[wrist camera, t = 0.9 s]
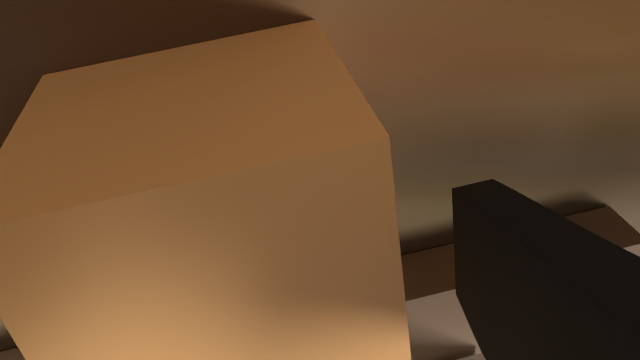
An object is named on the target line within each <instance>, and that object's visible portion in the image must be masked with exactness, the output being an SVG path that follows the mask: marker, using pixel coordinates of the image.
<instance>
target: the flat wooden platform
mask: <svg viewBox="0 0 640 360" xmlns="http://www.w3.org/2000/svg"><path fill="white" fill-rule="evenodd" d="M564 218H566V219H568V220H570V221H572V222H574V223H576V224H577V225H579V226H581V227H583V228H585V229H587V230H589V231H591V232H592V233H594V234H596V235H598V236H600V237H602V238H604V239H606V240H608V241H610V242H612V243H614V244H616V245H618V246H619V247H621V248H623V249H625V250H627V251H629V252H631V253H633V254H635V255H637V256H639V257H640V234H639V233H638V232H637V231H636V230H635V229H634V228H633V227H632V226H631V225H629V224H628V223H627V222H626V221H625V220H624V219H623V218H622V217H621V216H620V215H619V214H617V213H616V212H615V211H614V210H613V209H612V208H611V207H610V206H607V207H603V208H599V209H594V210H590V211H586V212H582V213H578V214H574V215H569V216H565V217H564ZM401 261H402V271H403V281H404V291H405V301H406V311H407V321H408V331H409V342H410V352H411V360H456V359H460V358H464V357H468V356H472V355H476V354H480V353H482V352H481V350H480V348H479V346H478V343H477V341H476V339H475V337H474V335H473V332H472V330H471V328H470V326H469V323H468V321H467V319H466V316H465V314H464V312H463V310H462V307H461V305H460V303H459V300H458V298H457V296H456V288H455V260H454V243H452V244H448V245H444V246H440V247H435V248H431V249H427V250H423V251H419V252H415V253H410V254H406V255H402V256H401ZM0 360H25V358H24V357H23V355H22V353H21V352H20V350H19V348H18V347H17V348H13V349H9V350H4V351H0Z"/></svg>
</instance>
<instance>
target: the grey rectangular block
mask: <svg viewBox="0 0 640 360" xmlns="http://www.w3.org/2000/svg"><path fill="white" fill-rule="evenodd" d="M456 360H486V359H485V357H484V356H483V354H482V353H480V354H476V355H472V356H468V357H464V358H460V359H456Z"/></svg>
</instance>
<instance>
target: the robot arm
mask: <svg viewBox="0 0 640 360" xmlns="http://www.w3.org/2000/svg"><path fill="white" fill-rule="evenodd" d="M452 202H453V231H454V260H455V288H456V296H457V298H458V300H459V303H460V305H461V307H462V310H463V312H464V314H465V316H466V319H467V321H468V323H469V326H470V328H471V330H472V332H473V335H474V337H475V339H476V341H477V343H478V346H479V348H480V350H481V352H482V354H483V356H484V357H485V359H486V360H640V257H639V256H637V255H635V254H633V253H631V252H629V251H627V250H625V249H623V248H621V247H619V246H618V245H616V244H614V243H612V242H610V241H608V240H606V239H604V238H602V237H600V236H598V235H596V234H594V233H592V232H591V231H589V230H587V229H585V228H583V227H581V226H579V225H577V224H576V223H574V222H572V221H570V220H568V219H566V218H564V217H563V216H561V215H559V214H557V213H555V212H553V211H552V210H550V209H548V208H546V207H544V206H542V205H541V204H539V203H537V202H535V201H533V200H532V199H530V198H528V197H526V196H524V195H522V194H520V193H519V192H517V191H515V190H513V189H511V188H509V187H507V186H505V185H503V184H501V183H499V182H497V181H495V180H493V179H491V180H486V181H482V182H478V183H473V184H469V185H465V186H461V187H456V188H452Z"/></svg>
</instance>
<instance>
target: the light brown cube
mask: <svg viewBox="0 0 640 360" xmlns="http://www.w3.org/2000/svg"><path fill="white" fill-rule="evenodd" d="M0 318H1V320H2V322H3V323H4V325H5V327H6V328H7V330H8V332H9V333H10V335H11V337H12V338H13V340H14V342H15V343H16V345H17V347H18V348H19V350H20V352H21V353H22V355H23V357H24V358H25V360H411V352H410V342H409V331H408V321H407V311H406V301H405V291H404V281H403V271H402V261H401V251H400V240H399V230H398V220H397V210H396V200H395V190H394V180H393V170H392V160H391V149H390V139H389V135H388V134H387V132H386V131H385V129H384V128H383V126H382V124H381V123H380V121H379V120H378V118H377V117H376V115H375V113H374V112H373V110H372V109H371V107H370V105H369V104H368V102H367V101H366V99H365V98H364V96H363V94H362V93H361V91H360V90H359V88H358V87H357V85H356V83H355V82H354V80H353V79H352V77H351V76H350V74H349V72H348V71H347V69H346V68H345V66H344V65H343V63H342V61H341V60H340V58H339V57H338V55H337V54H336V52H335V50H334V49H333V47H332V46H331V44H330V43H329V41H328V39H327V38H326V36H325V35H324V33H323V32H322V30H321V28H320V27H319V25H318V24H317V22H316V21H315V19H313V20H308V21H303V22H298V23H294V24H289V25H284V26H279V27H274V28H269V29H264V30H260V31H255V32H250V33H245V34H240V35H235V36H230V37H226V38H221V39H216V40H211V41H206V42H201V43H196V44H192V45H187V46H182V47H177V48H172V49H167V50H162V51H158V52H153V53H148V54H143V55H138V56H133V57H128V58H124V59H119V60H114V61H109V62H104V63H99V64H94V65H89V66H85V67H80V68H75V69H70V70H65V71H60V72H55V73H51V74H46V75H43V76H42V77H41V79H40V81H39V83H38V84H37V86H36V88H35V90H34V91H33V93H32V95H31V97H30V98H29V100H28V102H27V103H26V105H25V107H24V109H23V110H22V112H21V114H20V116H19V117H18V119H17V121H16V122H15V124H14V126H13V128H12V129H11V131H10V133H9V135H8V136H7V138H6V140H5V142H4V143H3V145H2V147H1V148H0Z"/></svg>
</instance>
